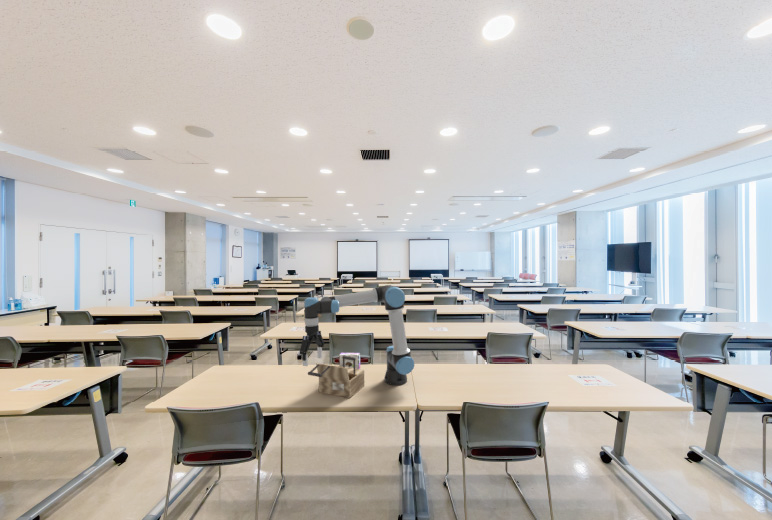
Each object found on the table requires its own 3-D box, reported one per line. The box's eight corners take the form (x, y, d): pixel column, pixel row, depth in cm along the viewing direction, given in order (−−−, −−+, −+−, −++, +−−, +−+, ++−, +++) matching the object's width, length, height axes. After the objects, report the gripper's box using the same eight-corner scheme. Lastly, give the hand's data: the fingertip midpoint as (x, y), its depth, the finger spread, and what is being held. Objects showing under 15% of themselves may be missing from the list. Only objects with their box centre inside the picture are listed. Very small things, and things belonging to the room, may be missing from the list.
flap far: (363, 370, 202) (363, 353, 201) (356, 376, 193) (356, 358, 193) (335, 366, 211) (334, 349, 210) (327, 371, 202) (326, 354, 202)
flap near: (347, 367, 183) (337, 378, 174) (349, 381, 185) (339, 392, 176) (316, 362, 192) (305, 372, 183) (318, 375, 194) (308, 386, 185)
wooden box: (364, 386, 202) (364, 370, 202) (349, 398, 186) (349, 381, 185) (335, 380, 211) (335, 366, 211) (318, 392, 195) (318, 375, 194)
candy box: (360, 376, 219) (360, 352, 219) (359, 379, 213) (358, 355, 213) (341, 375, 220) (340, 352, 220) (339, 378, 215) (338, 354, 214)
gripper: (319, 319, 193) (320, 354, 194) (291, 329, 171) (293, 368, 171) (329, 320, 190) (330, 355, 191) (303, 330, 168) (304, 370, 168)
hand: (312, 361), depth 181 cm, fingers open, 13 cm apart
